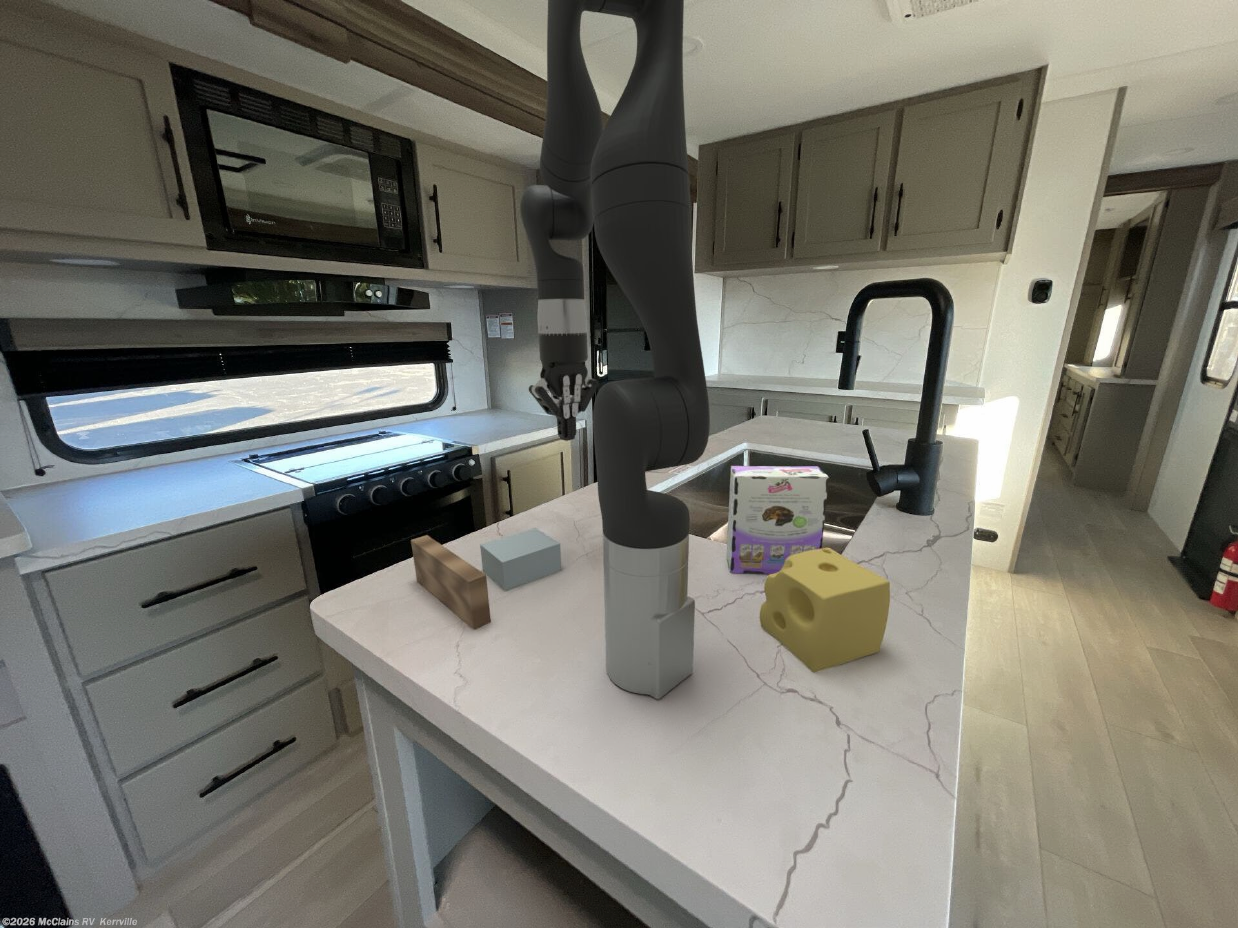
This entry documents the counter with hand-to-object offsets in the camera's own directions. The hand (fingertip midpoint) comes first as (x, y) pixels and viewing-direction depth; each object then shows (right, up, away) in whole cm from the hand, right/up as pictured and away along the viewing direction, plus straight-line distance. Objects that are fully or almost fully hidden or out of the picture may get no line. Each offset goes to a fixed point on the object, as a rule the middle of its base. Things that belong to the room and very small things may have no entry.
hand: (567, 439), depth 82 cm
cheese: (+34, -26, -20) cm, 47 cm away
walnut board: (-16, -24, -10) cm, 30 cm away
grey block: (-7, -22, -1) cm, 23 cm away
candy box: (+33, -21, -1) cm, 39 cm away
